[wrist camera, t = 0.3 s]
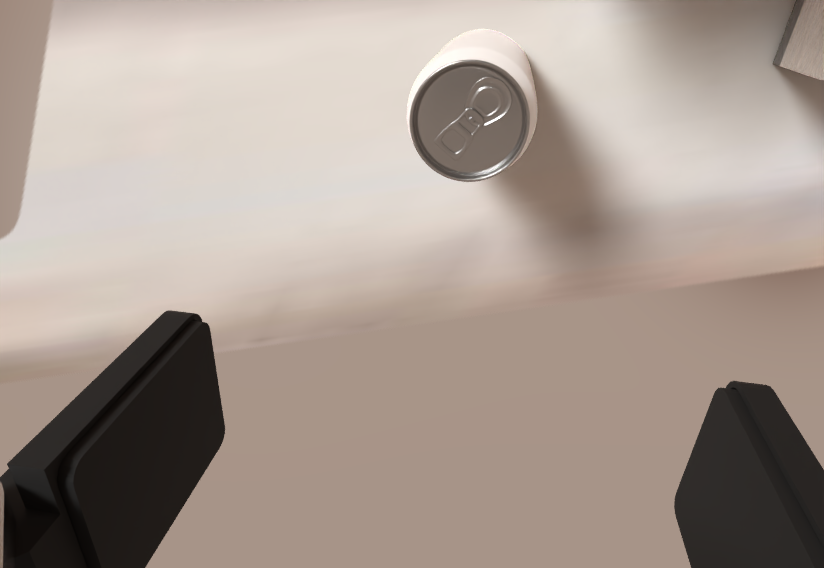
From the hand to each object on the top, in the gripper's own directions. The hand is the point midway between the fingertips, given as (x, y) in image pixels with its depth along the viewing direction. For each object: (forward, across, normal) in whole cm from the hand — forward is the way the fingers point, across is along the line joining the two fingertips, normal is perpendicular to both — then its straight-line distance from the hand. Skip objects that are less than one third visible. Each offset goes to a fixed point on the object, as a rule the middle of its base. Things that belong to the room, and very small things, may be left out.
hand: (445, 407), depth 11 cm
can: (+31, +1, -1) cm, 31 cm away
